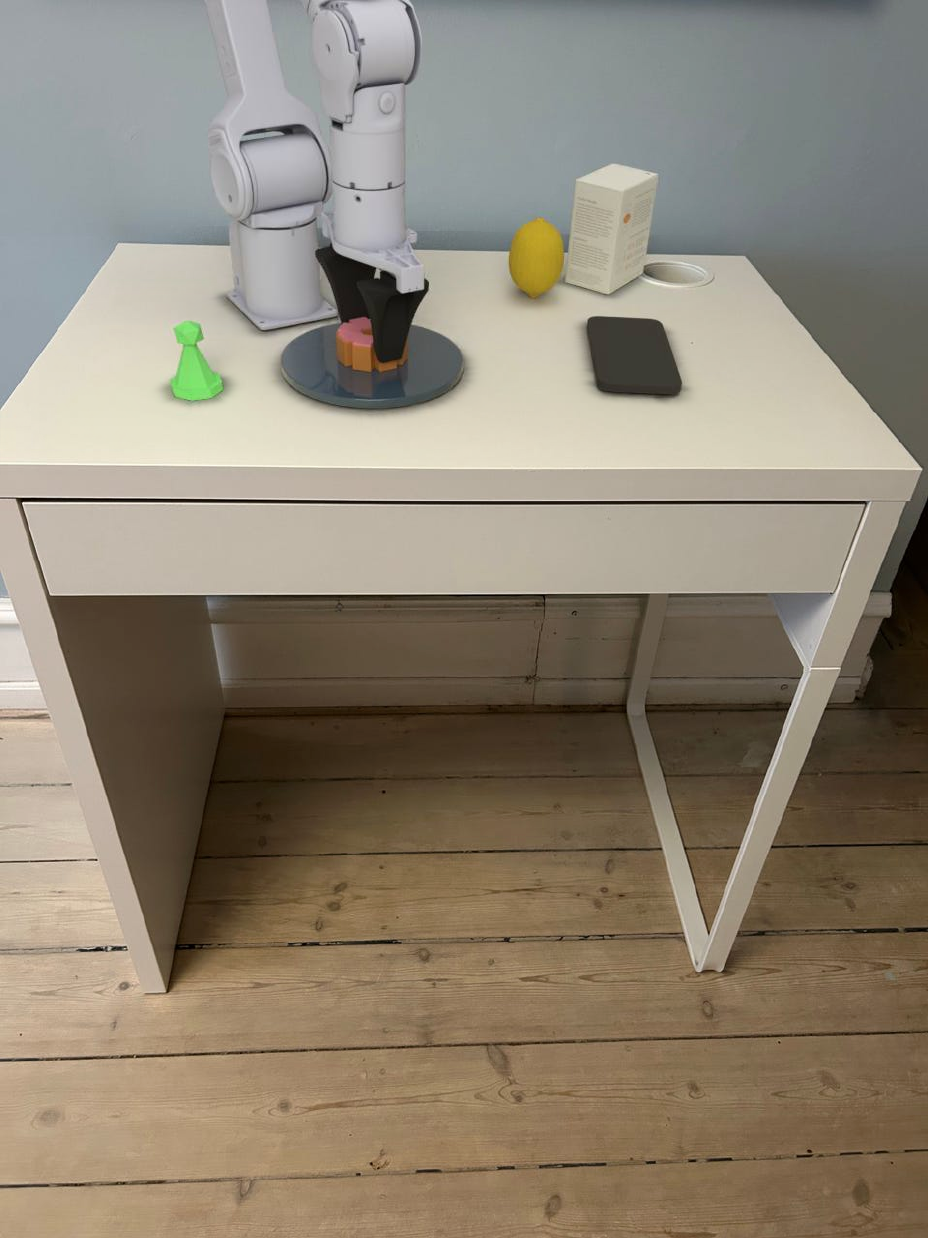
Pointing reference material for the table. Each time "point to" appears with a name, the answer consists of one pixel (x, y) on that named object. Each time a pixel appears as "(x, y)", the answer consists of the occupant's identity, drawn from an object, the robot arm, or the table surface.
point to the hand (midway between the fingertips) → (372, 344)
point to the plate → (330, 381)
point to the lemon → (536, 257)
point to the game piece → (193, 367)
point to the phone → (632, 355)
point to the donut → (362, 347)
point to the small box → (610, 227)
